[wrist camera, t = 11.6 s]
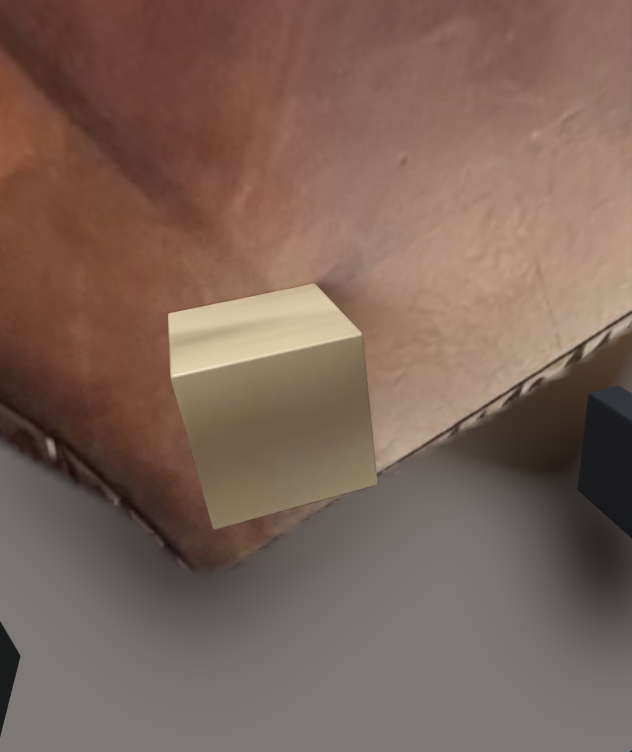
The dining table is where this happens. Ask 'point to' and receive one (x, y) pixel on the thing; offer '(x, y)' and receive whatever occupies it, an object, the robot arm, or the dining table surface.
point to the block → (272, 402)
